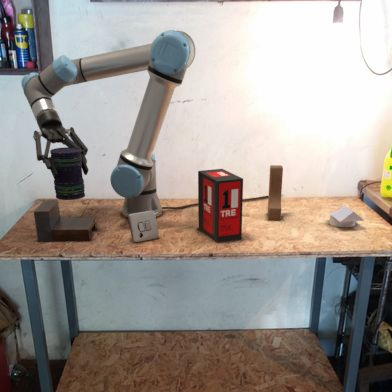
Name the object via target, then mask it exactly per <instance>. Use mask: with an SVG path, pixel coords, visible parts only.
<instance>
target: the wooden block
mask: <svg viewBox="0 0 392 392" xmlns="http://www.w3.org/2000/svg"><path fill="white" fill-rule="evenodd" d="M283 175H284V168H283V165H281V164H277V165H275V164H274V165H273V164H271V165H269V176H268V177H269V179H268V195H269V196H268V195H267V196H268V200H267V202H268V203H267V219H268V221H281V219H282V192H283Z"/></svg>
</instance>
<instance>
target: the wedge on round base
mask: <svg viewBox="0 0 392 392" xmlns="http://www.w3.org/2000/svg"><path fill="white" fill-rule="evenodd" d="M364 221H365V219H364V218H362V217H361V216H360V215H358V213H357V212H355V211H354V210H353V209H351V208H349V207H348V206H347V205H346V204H345V205H343V206H341V207H340V208H338V209H337V210H335V211H332V212H330V215H329V224H330V225H331V226H333V227H336V228H352V227H355V226H356V222H364Z"/></svg>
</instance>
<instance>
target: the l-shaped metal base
mask: <svg viewBox="0 0 392 392" xmlns="http://www.w3.org/2000/svg"><path fill="white" fill-rule="evenodd" d="M60 212H61V211H60V205H59V199H53V200H51V199H47V200H45V199H44V200H43V201H42V202H41V203H39V205H38V206H37V207H36V208H35V209H34V210H33V218H34V224H35V230H36V237H37V238H36V239H37V242H90V241H91V231H96V230H97V218H96V217H61V213H60Z"/></svg>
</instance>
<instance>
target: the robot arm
mask: <svg viewBox="0 0 392 392" xmlns="http://www.w3.org/2000/svg"><path fill="white" fill-rule="evenodd" d="M196 52H197V48H196V44H195V42H194V39H193V38H192V37H191V35H190V34H188V33H186V32H185V31H182V30H173V29H169V30H165V31H163V32H161V33H160V34H158V35H157V36H156V37H155V39H153V41H152V42H151V43H147V44H142V45H137V46H133V47H129V48H128V47H127V48H123V49H118V50H113V51H107V52H104V53H97V54H93V55H88V56H85V57H79V58H75V59H71V58H69V57H68V56H66V55H63V54H61V55H60V56H59V57H57V58H56V59H53V61H52V62H51V63H50V64H49V65H48V66H47V67H46V68H45V69H44V70H43V71H42V72H41V73H38V72H29V73H27V74H25V75H24V76H23V77H22V79H21V88H22V91H23V94H24V96H25V99H26V100H27V102H28V104H29V107H30V109H31V112H32V114H33V117H34V119H35V121H36V123H37V126H38V128H39V131H38V130H34V131H33V135H32V138H33V140H34V142H35V154H36V160H37V161H38V162H41V161H42V163H43V164H44V165H45V167H46V169H47V170H50V172H51V175H52V177H53V180H54V179H57V176H58V172H57V170H56V168H55V165H54V163H53V161H52V158H51V156H49V155H50V154H49V153H50V150H51V144H56V143H59V144H62V145H64V146H66V147H72V148H79V149H80V151H81V152H80V154H81V158H82V173H83V174H84V176H87V175H88V173H89V168H88V167H89V166H88V165H87V163H88V160H87V158H86V156H87V154H88V151H89V149H88V147H87V146H86V144H85V143H84V142H83V141H82V139H81V138H80V136H78V134H77V133H76V131H75V129H74V127H73V126H71V127H69V128H65V127H64V126H63V123H62V120H61V118H60V116H59V113H58V111H57V108H56V106H55V103H54V102H53V99H52V98H53V96H55V95H56V94H57V93H59V92H60V91H61V90H62V89H64V88H65V87H69V86H73V85H79V84H83V83H88V82H92V81H98V80H103V79H108V78H112V77H120V76H123V75H129V74H134V73H139V72H145V71H147V73H148V75H149V79H148V82H147V86H146V88H145V91H144V94H143V97H142V101H141V104H140V106H139V110H138V113H137V116H136V120H135V122H134V125H133V130H132V132H131V134H130V138H129V141H128V144H127V147H126V148H125V149H123V150H121V152H120V154H119V157H118V160H117V163H116V166H115V167H114V168H113V169H112V171H111V174H110V185H111V187H112V189H113V191H114V192H115V193H116V194H117V195H118V196H120V197H122V198H124V200H123V205H122V209H121V211H122V214H121V215H122V216H123V217H125V218H127V219H128V217H129V215H130V214H134V213H140V212H146V211H151V210H152V211H155V216H156V218H158V217H160V216H162V215H163V210H180V209H186V208H189V207H194V206H198V202H196V203H195V202H194V203H189V204H186V205H181V206H162V204H161V201H160V199H159V196H158V192H157V170H156V168H157V167H156V165H157V163H156V162H157V160H156V155H155V153H154V150H155V147H156V145H157V141H158V138H159V135H160V132H161V129H162V128H163V124H164V121H165V118H166V115H167V112H168V110H169V106H170V103H171V101H172V98H173V95H174V92H175V89H177V87H180V86H182V84H183V80H184V78H185V75H186V73H187V70H188V68H190V66H191V65H192V64H193V63H194V61H195V58H196V55H197V54H196ZM42 138H44V139H45V140H46V144H45V149H44V152H43V151H42V141H41V139H42ZM268 196H269V194H268V195H263V196H257V197H249V198H243V202H246V201H247V202H248V201H249V202H250V201H257V200H263V199H267V198H268Z"/></svg>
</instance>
